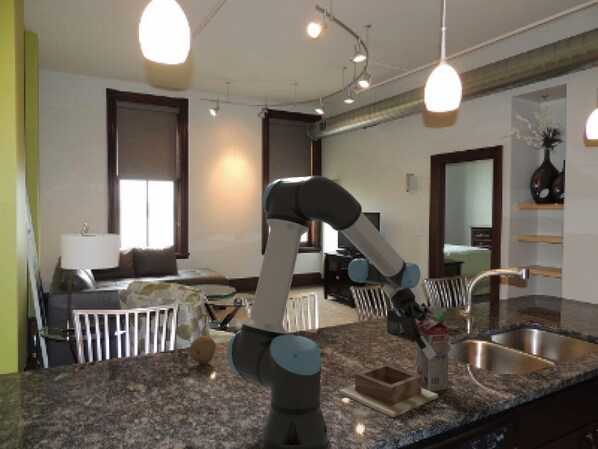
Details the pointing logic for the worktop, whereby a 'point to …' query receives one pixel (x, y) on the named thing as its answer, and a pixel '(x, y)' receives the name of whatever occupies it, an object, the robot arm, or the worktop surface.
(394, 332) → the small box
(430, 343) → the juice carton
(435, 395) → the birch collar board
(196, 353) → the natural sponge
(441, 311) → the food container
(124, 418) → the worktop surface
